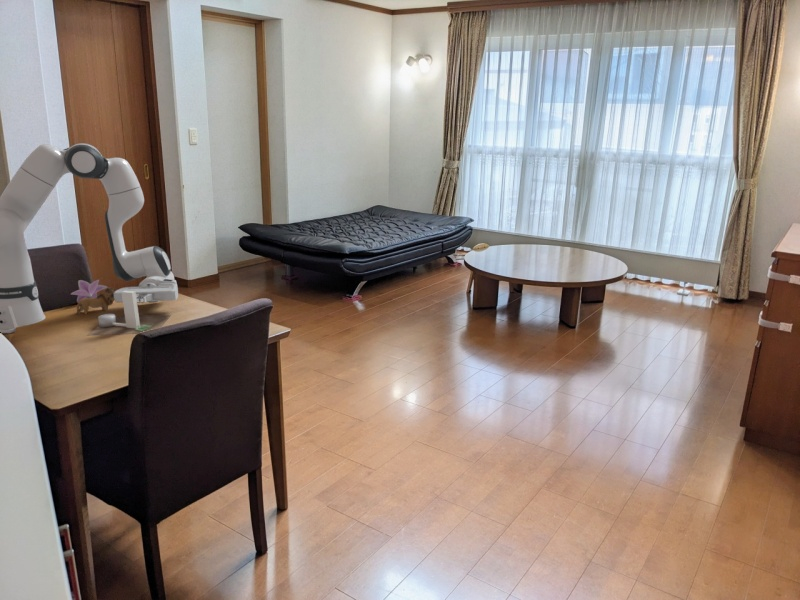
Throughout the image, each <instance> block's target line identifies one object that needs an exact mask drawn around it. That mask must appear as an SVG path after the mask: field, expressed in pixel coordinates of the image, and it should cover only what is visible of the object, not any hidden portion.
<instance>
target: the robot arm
mask: <svg viewBox="0 0 800 600" xmlns="http://www.w3.org/2000/svg"><path fill="white" fill-rule="evenodd" d="M70 173H71V174H72V175H74V176H76V177H78V178H80V179H91V180H93V179H94V180H99V181H101V184H102V185H103V187H104V190H105V193H106V195H107V199H108V209H107V210H105V213H104V221H105V227H106V233H107V237H108V243H109V248H110V251H111V257H112V267H113V272H114V274H115V276H117V278H119V279H121V280H123V281H124V282H130V281H134V280H136V279H140V278H142V277H146V278H144V279H143V280H141V281H140V282H139V284H138V286H126V287H121V288H119V289H116V290H115V292H114V299H115V300H114V301H115V302H116V303H123V299H122V292H123V291H134V292H136V299H137V304H140V303H141V304H145V303H153V304H155V303H158V302H161V301H162V302H166V301H167V302H169V301H171V302H172V301H177V299H178V298H179V288H178V283H177V280H176V279H175V275H174V273H173V272H172V263H171V260H170V257H169V255H168V254H167V252H166V251H165V250H164V249H163V248H161V247H159V246H158V245H153V246H148V247H145V248H141V249H137V250H132V251H127V249H126V245H125V240H124V235H123V226H124V224H126V222H127V221H128V220H130V219H132V218H133V217H135V216H136V215H137V214H138V213H139V212H140V211H141V210H142V208H144V207H143V206H144V204H145V197H144V192H143V190H142V187H141V184H140V182H139V179H138V177H137V174H135V172H134V169H133V168H132V166H131V164H130V163H129V162H128V160H127V159H124V158H122V157H110V158H106V157H105V156H103V155H102V153H101V152H100V151H99V149H98V148H97V147H96V146H94V145H92V144H90V143H87V142H86V143H85V142H80V143H76V144H73V145H71V146H69V147H67V148H64V149H61V148H58V147H56V146H55V145H52V144H45V143H44V144H40V145H39V146H37V147H36V148H35V149H34V150H32V151H31V153H30V154H29V155H28V156H27V157H26V159H24V161H23V162H22V164H21V165H20V166H19V168H18V170H17V171H16V172H15V174H14V175H13V176H12V178H11V180H10V181H9V183H8V184H7V185H6V187H5V189H3V192H1V195H0V332H1V333H0V334H13V333H15V331H16V329H17V328H19V327H21V328H22V327H25V326H29V325H33V324H36V323H39V322H42V321H44V320H45V319H46V315H45V314H44V311H43V308H42V306H41V303H40V300H39V291H38V285H37V282H36V280H35V278H34V272H33V268H32V267H33V266H32V261H31V257H30V255H29V251H28V247H27V244H26V239H25V235H24V232H25V231H26V230H27V228H28V227H29V225H30V223H31V222H32V220H34V218H35V216H36V215H37V214H38V211H40V209H42V207H43V205H44V203H45V202H46V200H48V197H49V196H50V195H51V193H52V192H53V190H54V188H55V187H56V186H57V185H58V182H59V181H60V180H61V178H62V177H64V175H66V174H70Z"/></svg>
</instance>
